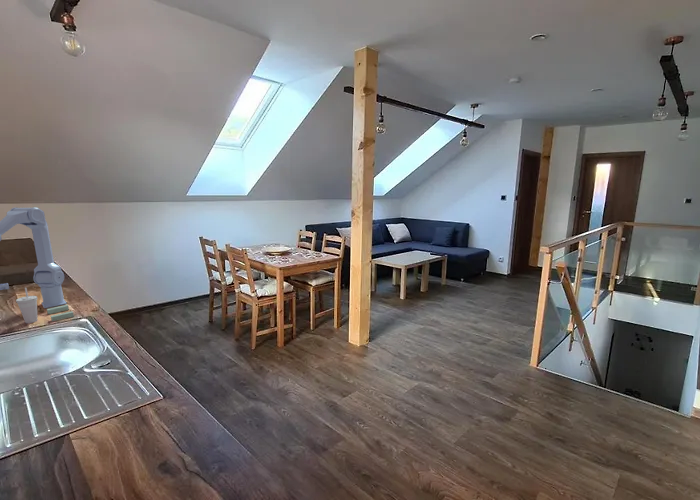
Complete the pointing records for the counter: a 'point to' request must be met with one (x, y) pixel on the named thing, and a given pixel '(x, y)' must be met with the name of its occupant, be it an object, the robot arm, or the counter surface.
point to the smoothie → (28, 307)
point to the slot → (60, 316)
